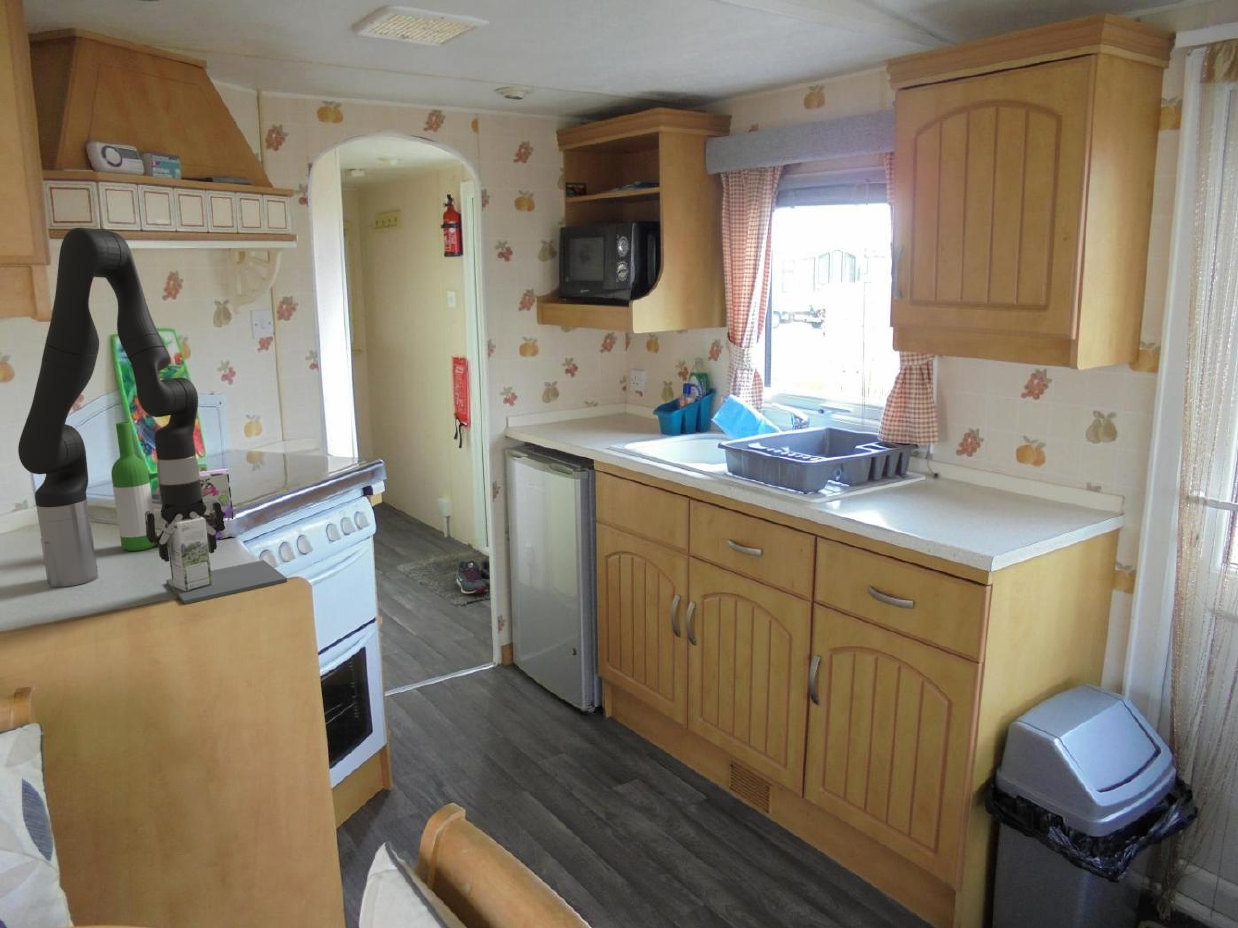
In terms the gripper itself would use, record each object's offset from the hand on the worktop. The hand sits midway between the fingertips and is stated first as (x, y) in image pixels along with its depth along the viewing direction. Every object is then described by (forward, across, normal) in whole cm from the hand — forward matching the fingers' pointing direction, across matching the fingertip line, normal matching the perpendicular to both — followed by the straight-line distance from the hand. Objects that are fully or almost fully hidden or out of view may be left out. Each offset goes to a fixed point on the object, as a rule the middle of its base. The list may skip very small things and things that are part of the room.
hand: (189, 556), depth 191 cm
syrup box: (+6, 0, 0) cm, 7 cm away
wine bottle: (+7, -2, +41) cm, 42 cm away
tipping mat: (+7, +6, 0) cm, 10 cm away
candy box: (+7, +12, +38) cm, 40 cm away
